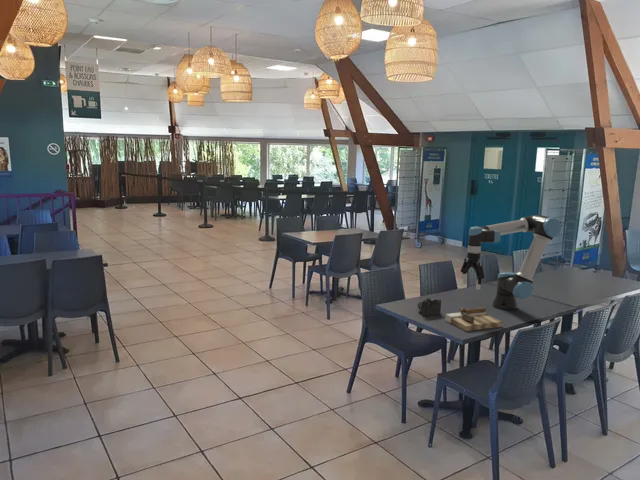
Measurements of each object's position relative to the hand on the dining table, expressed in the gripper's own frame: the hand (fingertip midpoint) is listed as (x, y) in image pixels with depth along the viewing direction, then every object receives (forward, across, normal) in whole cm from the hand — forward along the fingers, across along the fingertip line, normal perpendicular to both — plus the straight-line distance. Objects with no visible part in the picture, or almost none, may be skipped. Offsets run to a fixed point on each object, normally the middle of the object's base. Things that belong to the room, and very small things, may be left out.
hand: (471, 286), depth 313 cm
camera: (+18, -11, -23) cm, 31 cm away
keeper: (+15, +17, -14) cm, 27 cm away
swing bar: (+14, +7, -4) cm, 16 cm away
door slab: (+18, +17, -8) cm, 26 cm away
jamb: (+18, +7, -8) cm, 21 cm away
